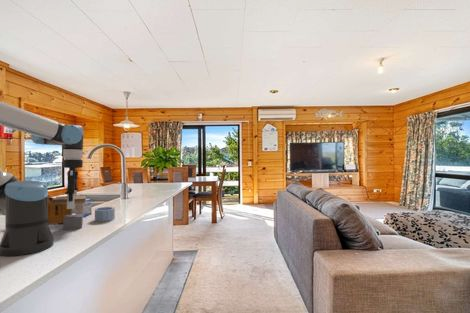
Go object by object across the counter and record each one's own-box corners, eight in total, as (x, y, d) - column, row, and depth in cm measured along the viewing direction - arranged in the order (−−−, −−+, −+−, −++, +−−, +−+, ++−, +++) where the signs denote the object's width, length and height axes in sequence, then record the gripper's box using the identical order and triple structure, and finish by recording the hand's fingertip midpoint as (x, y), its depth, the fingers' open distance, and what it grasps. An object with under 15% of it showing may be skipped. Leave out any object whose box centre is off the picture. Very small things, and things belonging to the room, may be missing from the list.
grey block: (81, 227, 117) (81, 216, 117) (63, 230, 113) (63, 218, 113) (82, 224, 123) (82, 213, 123) (65, 226, 120) (65, 215, 120)
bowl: (114, 220, 130) (114, 209, 130) (94, 222, 126) (94, 211, 126) (114, 216, 138) (114, 206, 138) (94, 218, 134) (94, 207, 134)
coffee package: (39, 195, 132) (80, 196, 131) (37, 220, 131) (79, 221, 130) (22, 197, 122) (67, 198, 121) (20, 224, 121) (65, 225, 120)
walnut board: (84, 203, 115) (85, 198, 115) (52, 204, 109) (52, 199, 109) (86, 199, 125) (86, 195, 125) (56, 200, 120) (56, 196, 120)
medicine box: (83, 217, 136) (83, 201, 136) (74, 217, 136) (74, 201, 136) (91, 214, 144) (91, 198, 144) (83, 214, 144) (83, 198, 144)
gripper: (81, 159, 109) (79, 210, 109) (84, 159, 130) (82, 202, 130) (59, 158, 105) (58, 211, 105) (66, 158, 127) (65, 203, 126)
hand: (71, 206), depth 118 cm, fingers closed on walnut board, 12 cm apart
